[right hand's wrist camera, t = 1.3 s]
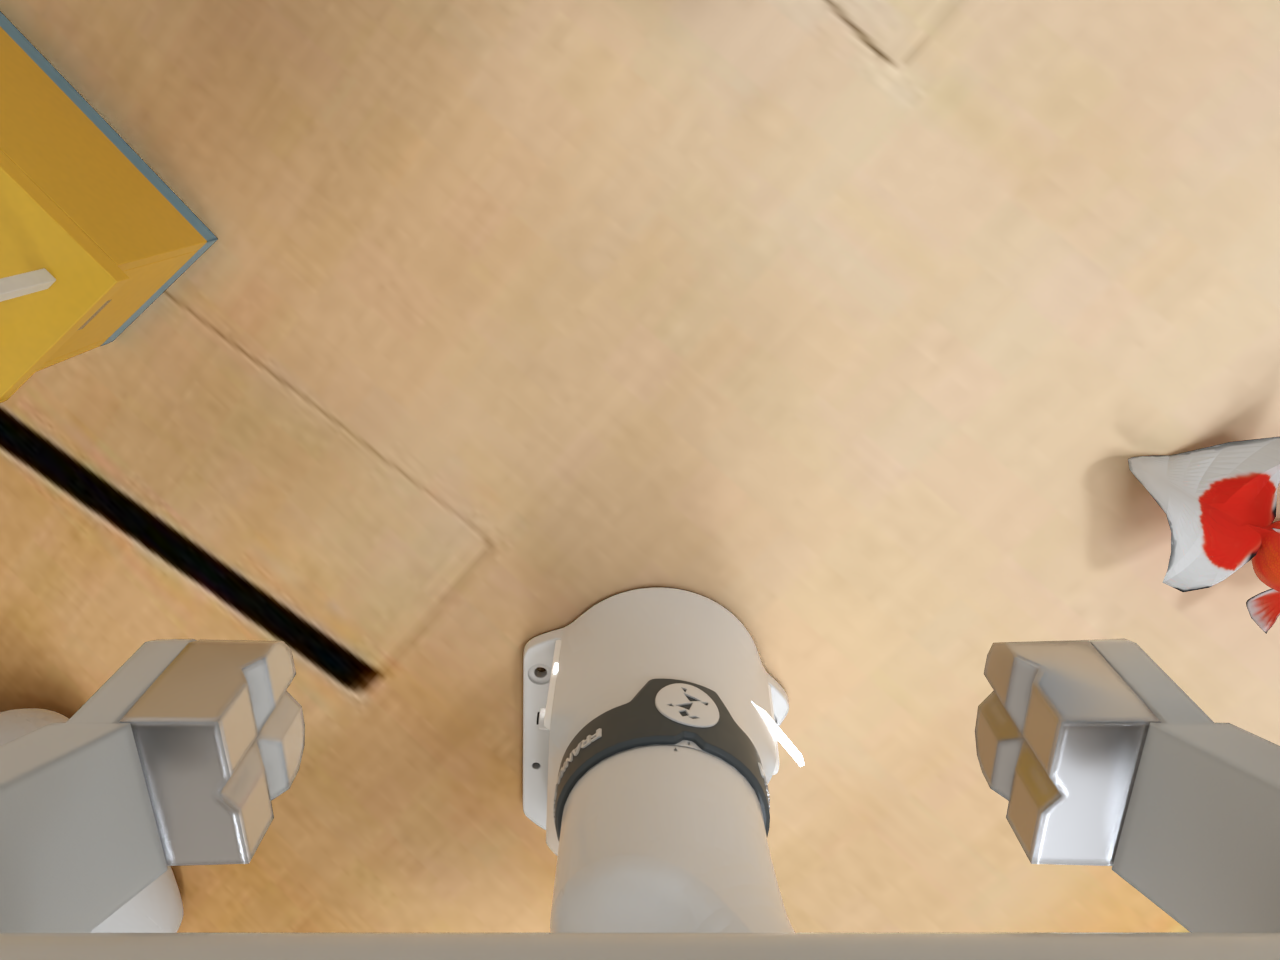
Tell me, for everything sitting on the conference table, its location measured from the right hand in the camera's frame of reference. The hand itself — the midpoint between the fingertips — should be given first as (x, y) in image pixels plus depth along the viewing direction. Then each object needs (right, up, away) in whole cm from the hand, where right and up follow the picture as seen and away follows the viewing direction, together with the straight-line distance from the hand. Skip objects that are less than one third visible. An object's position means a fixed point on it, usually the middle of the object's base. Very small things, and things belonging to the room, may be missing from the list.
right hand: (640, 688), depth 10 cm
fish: (+36, +1, +46) cm, 59 cm away
